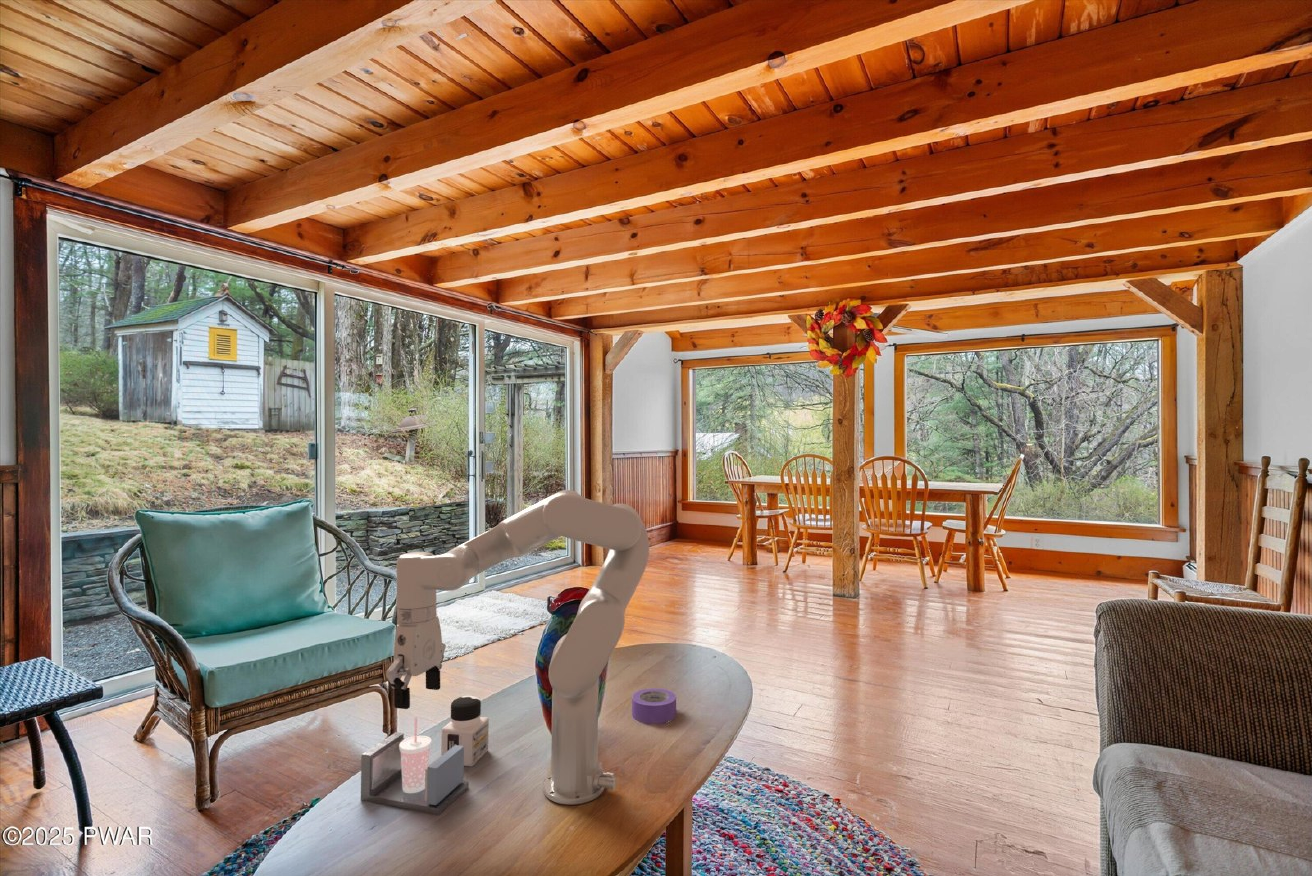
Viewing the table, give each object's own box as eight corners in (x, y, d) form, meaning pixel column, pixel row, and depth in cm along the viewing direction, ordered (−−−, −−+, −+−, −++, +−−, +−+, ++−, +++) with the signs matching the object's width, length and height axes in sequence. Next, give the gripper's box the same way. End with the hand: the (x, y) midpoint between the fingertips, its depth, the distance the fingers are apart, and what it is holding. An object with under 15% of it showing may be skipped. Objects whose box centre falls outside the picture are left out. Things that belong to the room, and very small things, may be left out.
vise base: (468, 787, 126) (469, 743, 126) (438, 815, 117) (439, 767, 117) (394, 774, 131) (395, 732, 131) (360, 800, 121) (361, 754, 122)
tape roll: (623, 717, 161) (623, 698, 161) (648, 702, 170) (648, 684, 170) (660, 729, 154) (660, 709, 154) (684, 713, 164) (684, 694, 164)
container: (472, 767, 134) (473, 707, 135) (440, 763, 136) (441, 704, 136) (488, 750, 142) (489, 694, 142) (458, 747, 144) (459, 691, 144)
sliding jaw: (463, 780, 126) (463, 746, 126) (435, 805, 117) (436, 768, 117) (452, 778, 127) (453, 744, 127) (424, 803, 118) (425, 766, 118)
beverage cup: (398, 782, 126) (400, 713, 126) (430, 776, 128) (431, 709, 128) (397, 798, 120) (399, 726, 120) (430, 792, 122) (432, 721, 123)
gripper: (404, 626, 116) (405, 718, 115) (457, 604, 132) (458, 684, 132) (371, 624, 118) (372, 714, 117) (427, 602, 134) (429, 681, 134)
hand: (418, 698), depth 124 cm, fingers open, 9 cm apart
